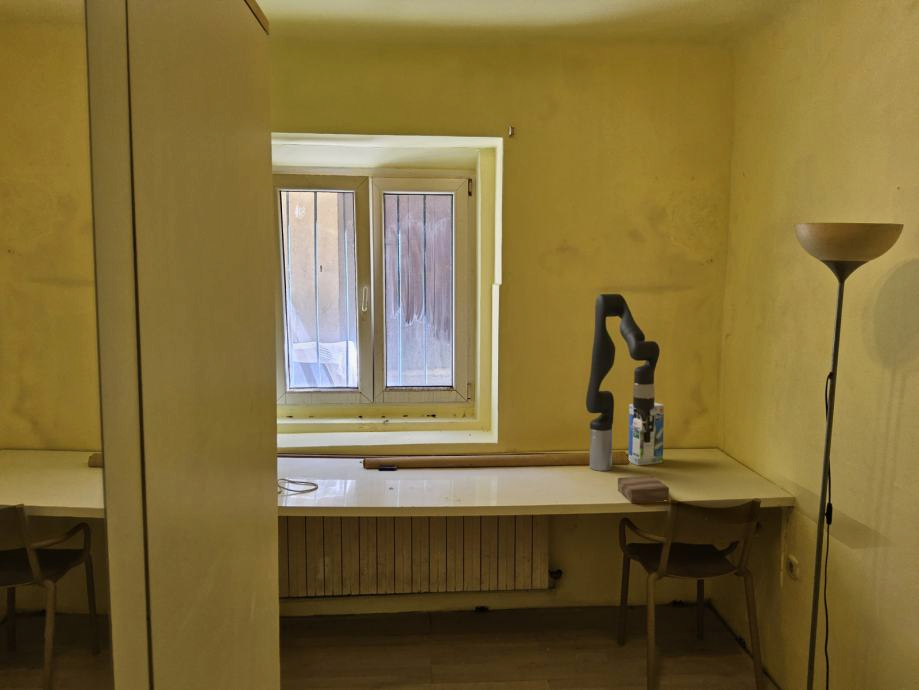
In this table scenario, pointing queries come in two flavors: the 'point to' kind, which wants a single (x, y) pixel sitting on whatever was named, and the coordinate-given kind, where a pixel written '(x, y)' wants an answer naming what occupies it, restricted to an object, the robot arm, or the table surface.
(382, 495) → the table surface
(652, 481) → the walnut block
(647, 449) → the syrup box
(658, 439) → the string lights box
